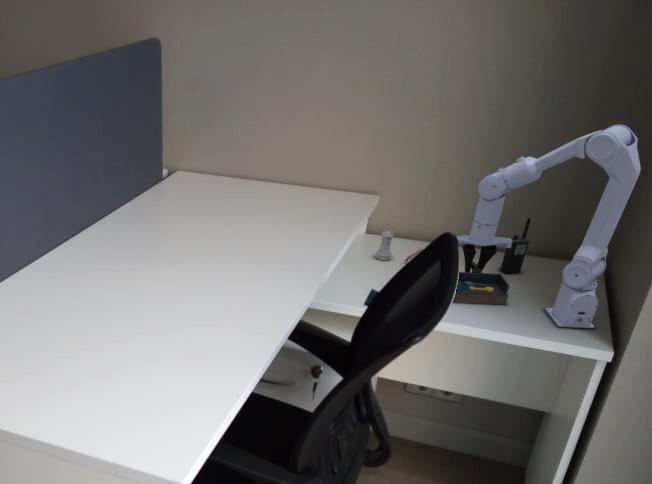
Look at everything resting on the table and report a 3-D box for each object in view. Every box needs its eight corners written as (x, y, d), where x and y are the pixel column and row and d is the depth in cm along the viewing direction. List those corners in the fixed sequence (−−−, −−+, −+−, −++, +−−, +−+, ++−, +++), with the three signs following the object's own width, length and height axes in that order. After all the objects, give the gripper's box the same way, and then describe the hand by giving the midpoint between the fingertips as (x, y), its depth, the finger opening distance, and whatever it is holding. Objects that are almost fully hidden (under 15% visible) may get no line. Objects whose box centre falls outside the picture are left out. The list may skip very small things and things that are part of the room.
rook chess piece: (372, 255, 210) (377, 228, 206) (387, 254, 211) (392, 228, 206) (378, 261, 207) (383, 234, 202) (393, 260, 207) (399, 233, 203)
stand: (505, 304, 182) (508, 295, 181) (451, 302, 184) (454, 293, 183) (496, 291, 189) (499, 283, 187) (444, 289, 190) (447, 280, 189)
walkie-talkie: (505, 274, 198) (521, 221, 190) (498, 269, 201) (513, 216, 193) (521, 272, 199) (538, 219, 191) (514, 267, 202) (530, 215, 193)
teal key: (465, 286, 185) (465, 284, 184) (463, 283, 187) (463, 280, 186) (486, 287, 184) (487, 285, 184) (484, 283, 186) (485, 281, 186)
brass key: (491, 288, 183) (492, 286, 183) (494, 292, 182) (495, 290, 181) (468, 287, 184) (469, 285, 184) (471, 291, 182) (471, 289, 182)
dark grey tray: (506, 295, 181) (511, 280, 179) (456, 293, 182) (460, 278, 180) (493, 277, 190) (497, 262, 188) (446, 275, 192) (449, 260, 189)
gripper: (511, 217, 184) (497, 267, 191) (451, 215, 186) (440, 264, 193) (520, 226, 178) (505, 278, 186) (458, 224, 180) (446, 275, 187)
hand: (472, 272), depth 189 cm, fingers closed
